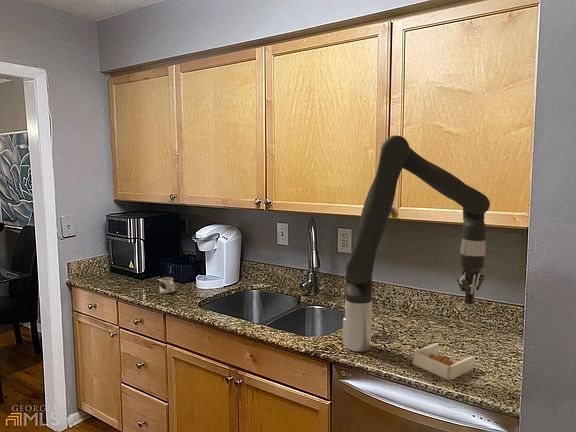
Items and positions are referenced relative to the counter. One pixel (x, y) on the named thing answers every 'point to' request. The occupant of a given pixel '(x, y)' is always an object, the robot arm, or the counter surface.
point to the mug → (166, 285)
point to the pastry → (441, 359)
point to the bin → (439, 368)
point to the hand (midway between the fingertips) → (469, 303)
